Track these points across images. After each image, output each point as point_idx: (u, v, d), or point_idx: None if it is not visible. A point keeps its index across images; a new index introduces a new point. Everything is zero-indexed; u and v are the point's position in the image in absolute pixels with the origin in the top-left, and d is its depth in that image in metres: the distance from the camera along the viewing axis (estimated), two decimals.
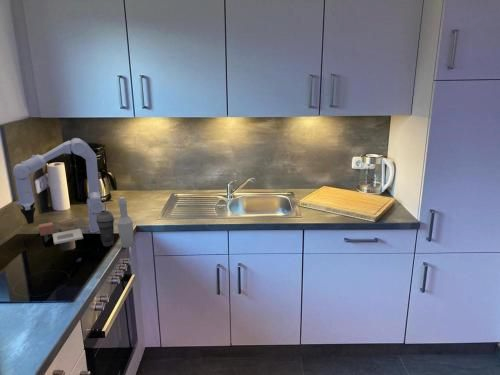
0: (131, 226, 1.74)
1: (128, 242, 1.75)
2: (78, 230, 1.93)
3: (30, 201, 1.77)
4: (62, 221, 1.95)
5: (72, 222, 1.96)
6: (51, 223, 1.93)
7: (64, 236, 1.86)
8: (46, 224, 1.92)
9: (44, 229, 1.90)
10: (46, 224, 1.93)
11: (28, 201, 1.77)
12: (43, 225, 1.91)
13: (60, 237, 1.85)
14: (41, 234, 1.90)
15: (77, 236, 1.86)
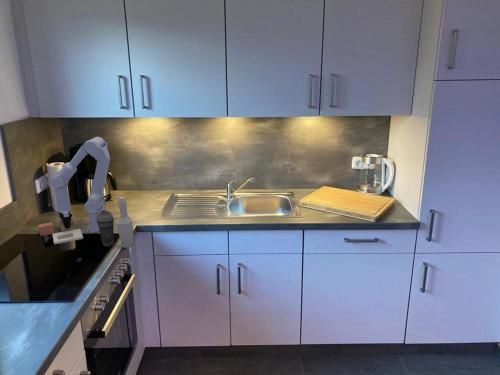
0: (131, 226, 1.74)
1: (128, 242, 1.75)
2: (78, 230, 1.93)
3: (68, 209, 1.93)
4: (62, 221, 1.95)
5: (72, 222, 1.96)
6: (51, 223, 1.93)
7: (64, 236, 1.86)
8: (46, 224, 1.92)
9: (44, 229, 1.90)
10: (46, 224, 1.93)
11: (66, 208, 1.92)
12: (43, 225, 1.91)
13: (60, 237, 1.85)
14: (41, 234, 1.90)
15: (77, 236, 1.86)
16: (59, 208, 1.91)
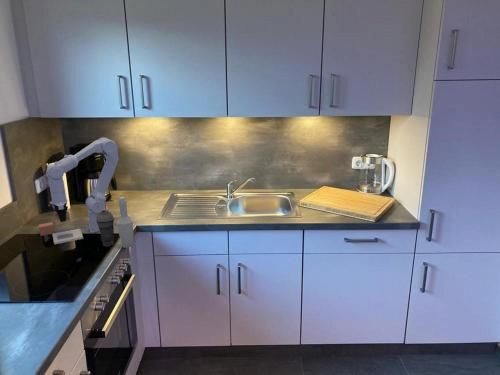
0: (131, 226, 1.74)
1: (128, 242, 1.75)
2: (78, 230, 1.93)
3: (63, 201, 1.82)
4: (57, 214, 1.84)
5: (67, 215, 1.85)
6: (51, 223, 1.93)
7: (64, 236, 1.86)
8: (46, 224, 1.92)
9: (44, 229, 1.90)
10: (46, 224, 1.93)
11: (61, 200, 1.81)
12: (43, 225, 1.91)
13: (60, 237, 1.85)
14: (41, 234, 1.90)
15: (77, 236, 1.86)
16: (54, 200, 1.80)
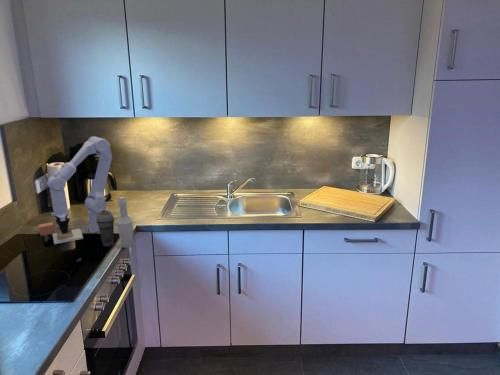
0: (131, 226, 1.74)
1: (128, 242, 1.75)
2: (78, 230, 1.93)
3: (64, 212, 1.81)
4: (59, 228, 1.84)
5: (69, 229, 1.85)
6: (51, 223, 1.93)
7: None
8: (46, 224, 1.92)
9: (44, 229, 1.90)
10: (46, 224, 1.93)
11: (63, 212, 1.81)
12: (43, 225, 1.91)
13: None
14: (41, 234, 1.90)
15: (77, 236, 1.86)
16: (55, 212, 1.80)
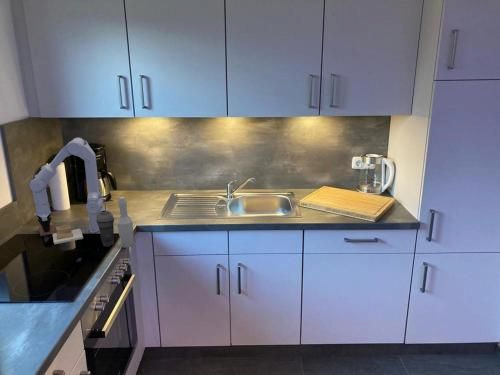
0: (131, 226, 1.74)
1: (128, 242, 1.75)
2: (78, 230, 1.93)
3: (46, 212, 1.89)
4: (59, 228, 1.84)
5: (69, 229, 1.85)
6: (51, 223, 1.93)
7: None
8: None
9: None
10: None
11: (45, 212, 1.88)
12: None
13: None
14: (41, 234, 1.90)
15: (77, 236, 1.86)
16: (38, 212, 1.87)
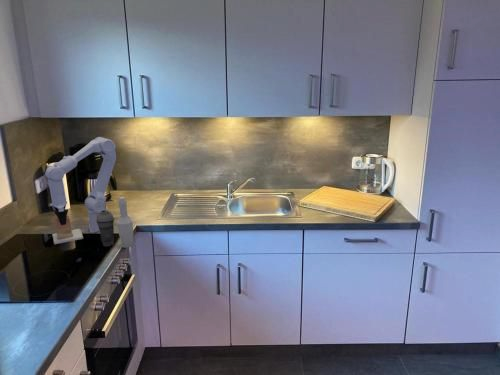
0: (131, 226, 1.74)
1: (128, 242, 1.75)
2: (78, 230, 1.93)
3: (63, 203, 1.80)
4: None
5: (69, 229, 1.85)
6: (67, 217, 1.85)
7: None
8: None
9: None
10: None
11: (61, 202, 1.79)
12: None
13: None
14: (57, 228, 1.82)
15: (77, 236, 1.86)
16: (54, 202, 1.79)
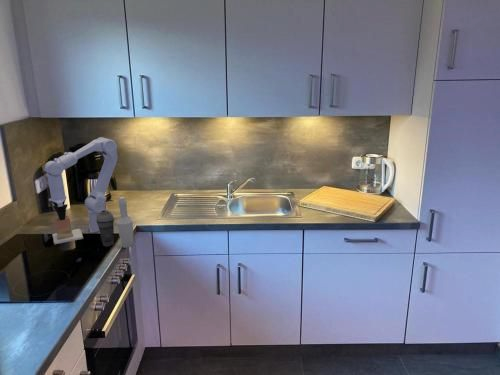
0: (131, 226, 1.74)
1: (128, 242, 1.75)
2: (78, 230, 1.93)
3: (62, 198, 1.79)
4: None
5: (69, 229, 1.85)
6: (67, 217, 1.85)
7: None
8: None
9: (60, 222, 1.82)
10: None
11: (60, 197, 1.79)
12: (59, 219, 1.83)
13: None
14: (57, 228, 1.82)
15: (77, 236, 1.86)
16: (53, 197, 1.78)
